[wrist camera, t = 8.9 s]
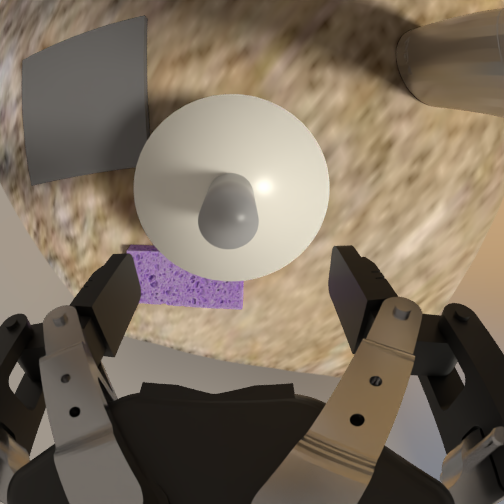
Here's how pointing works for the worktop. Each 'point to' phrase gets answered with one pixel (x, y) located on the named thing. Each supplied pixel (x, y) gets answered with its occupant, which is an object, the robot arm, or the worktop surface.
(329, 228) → the worktop surface
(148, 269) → the sponges
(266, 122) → the lid
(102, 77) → the mat
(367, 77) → the worktop surface
